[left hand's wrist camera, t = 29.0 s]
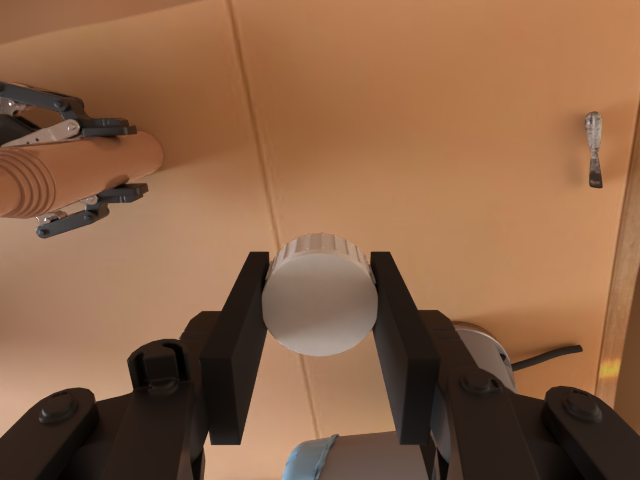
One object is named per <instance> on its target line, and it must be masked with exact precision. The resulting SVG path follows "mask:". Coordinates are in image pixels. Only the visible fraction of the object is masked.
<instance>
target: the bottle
mask: <svg viewBox="0 0 640 480" xmlns="http://www.w3.org/2000/svg"><path fill="white" fill-rule="evenodd" d="M163 158H164V154H163V149H162V147H161V145H160V143H159V142H158V140H157V139H156V138H155V137H154V136H152V135H151V134H149V133H146V132H143V131H137V134H133V135H120V136H91V137H82V138H74V139H66V140H57V141H49V142H40V143H32V144H24V145H15V146H7V147H1V148H0V217H2V218H22V219H25V218H34V217H39V216H42V215H44V214H47V213H50V212H52V211H55V210H58V209H60V208H63V207H65V206H68V205H71V204H73V203H76V202H78V201H81V200H84V199H86V198H89V197H92V196H94V195H97V194H99V193H102V192H105V191H107V190H110V189H112V188H115V187H118V186H120V185H123V184H126V183H128V182H131V181H133V180H136V179H139V178H141V177H144V176H146V175H149V174H152V173H154V172H156V171H157V170H158V169H159V168H160V167H161V165H162V163H163Z"/></svg>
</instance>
